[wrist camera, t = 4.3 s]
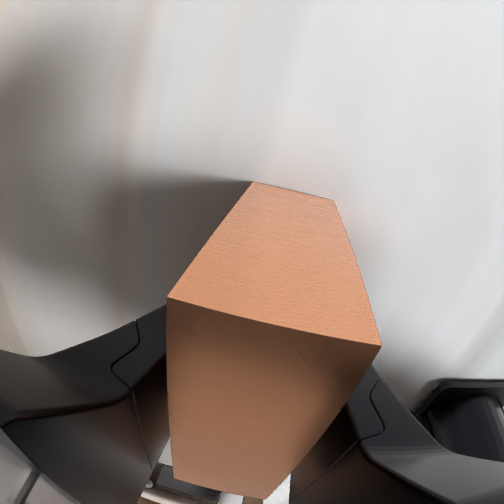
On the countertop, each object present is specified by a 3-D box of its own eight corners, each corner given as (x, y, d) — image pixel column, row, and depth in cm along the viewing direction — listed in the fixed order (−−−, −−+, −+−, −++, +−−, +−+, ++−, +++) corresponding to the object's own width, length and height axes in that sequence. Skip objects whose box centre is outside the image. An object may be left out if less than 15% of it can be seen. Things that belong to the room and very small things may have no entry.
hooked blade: (333, 201, 8) (382, 346, 3) (228, 488, 19) (213, 545, 13) (152, 163, 9) (-6, 235, 3) (164, 469, 19) (143, 524, 14)
